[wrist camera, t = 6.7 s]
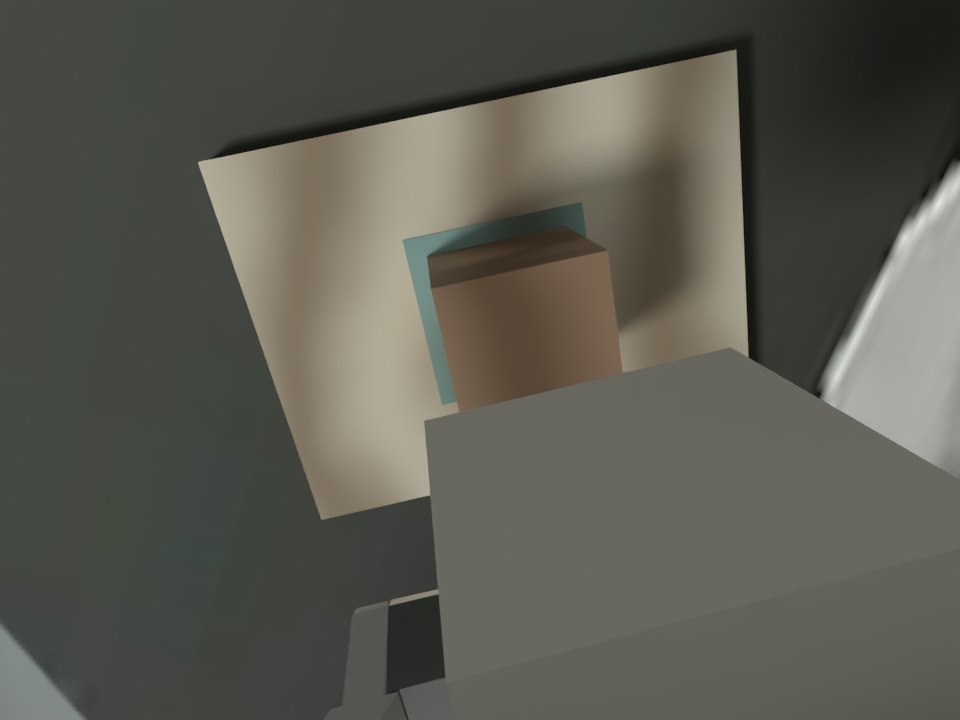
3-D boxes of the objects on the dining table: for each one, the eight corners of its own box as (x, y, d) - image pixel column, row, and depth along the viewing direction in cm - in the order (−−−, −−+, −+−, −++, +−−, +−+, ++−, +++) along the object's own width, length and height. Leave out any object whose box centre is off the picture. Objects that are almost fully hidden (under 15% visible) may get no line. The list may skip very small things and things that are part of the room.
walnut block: (565, 226, 21) (608, 250, 17) (584, 356, 23) (627, 410, 19) (426, 256, 21) (431, 289, 17) (456, 384, 23) (467, 446, 18)
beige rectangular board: (721, 53, 21) (737, 49, 20) (738, 411, 26) (751, 422, 25) (207, 161, 20) (197, 162, 20) (325, 505, 25) (321, 520, 24)
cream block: (730, 347, 10) (1040, 527, 5) (747, 595, 11) (993, 906, 7) (424, 421, 9) (446, 683, 5) (487, 663, 11) (550, 1036, 6)
